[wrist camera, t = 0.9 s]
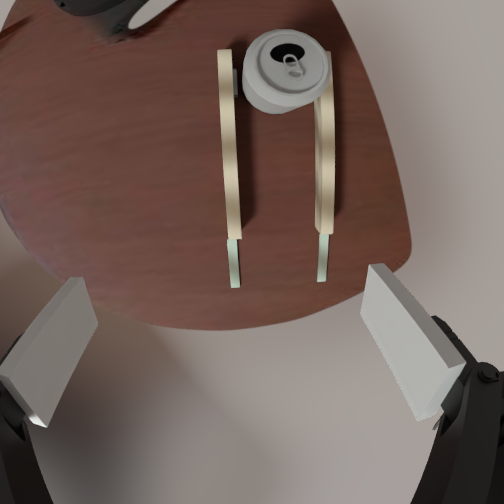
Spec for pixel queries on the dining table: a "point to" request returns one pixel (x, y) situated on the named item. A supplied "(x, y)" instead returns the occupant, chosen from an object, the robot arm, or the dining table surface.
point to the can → (284, 71)
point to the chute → (323, 164)
